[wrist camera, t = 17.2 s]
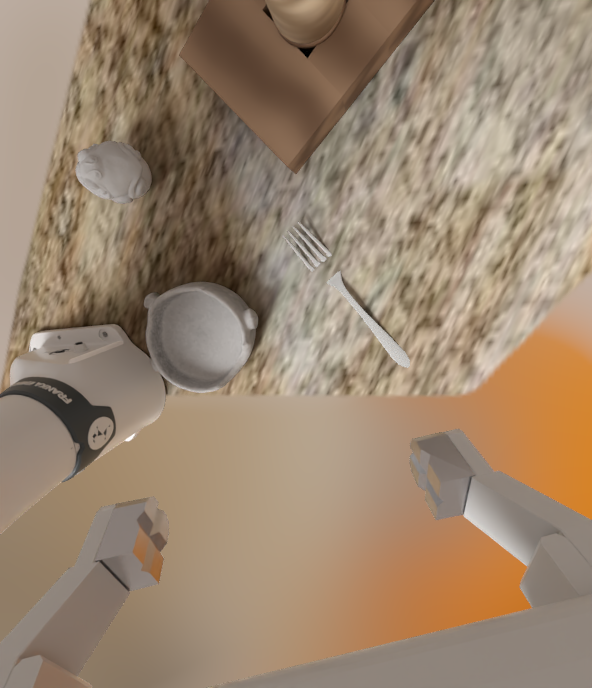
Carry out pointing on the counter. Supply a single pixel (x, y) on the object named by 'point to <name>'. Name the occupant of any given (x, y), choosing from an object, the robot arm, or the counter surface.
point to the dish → (199, 335)
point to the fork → (348, 295)
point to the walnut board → (294, 67)
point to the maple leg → (306, 20)
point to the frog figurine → (114, 171)
